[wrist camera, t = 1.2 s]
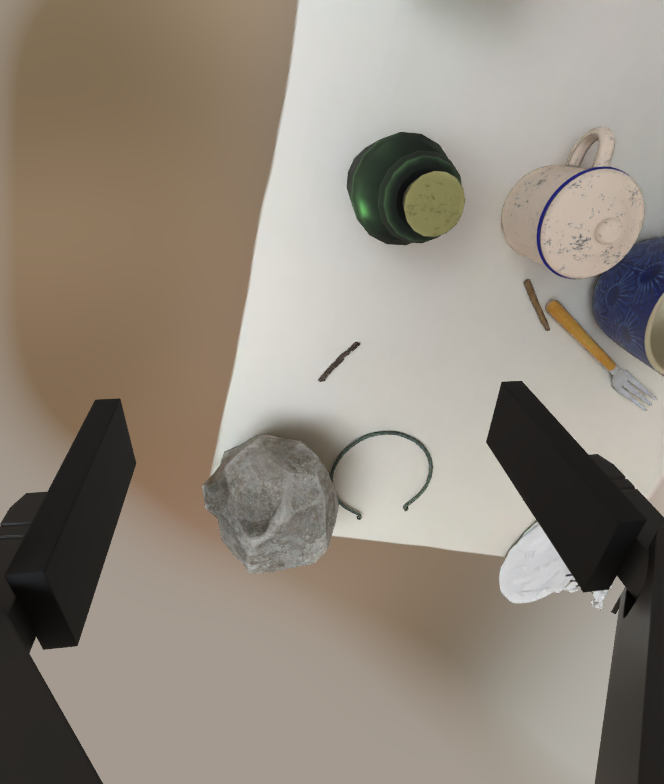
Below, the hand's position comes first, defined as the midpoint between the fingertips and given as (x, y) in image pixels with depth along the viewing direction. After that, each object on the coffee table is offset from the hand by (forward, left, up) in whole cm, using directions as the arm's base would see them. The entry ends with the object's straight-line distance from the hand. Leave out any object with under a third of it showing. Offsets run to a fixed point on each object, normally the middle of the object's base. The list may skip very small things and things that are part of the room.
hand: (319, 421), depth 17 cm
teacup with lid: (-8, +24, -35) cm, 43 cm away
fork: (+2, +28, -33) cm, 44 cm away
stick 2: (+1, +28, -33) cm, 43 cm away
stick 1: (+13, +7, -33) cm, 36 cm away
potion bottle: (-7, +7, -35) cm, 36 cm away
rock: (+33, +4, -23) cm, 40 cm away
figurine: (+39, +45, -35) cm, 69 cm away
